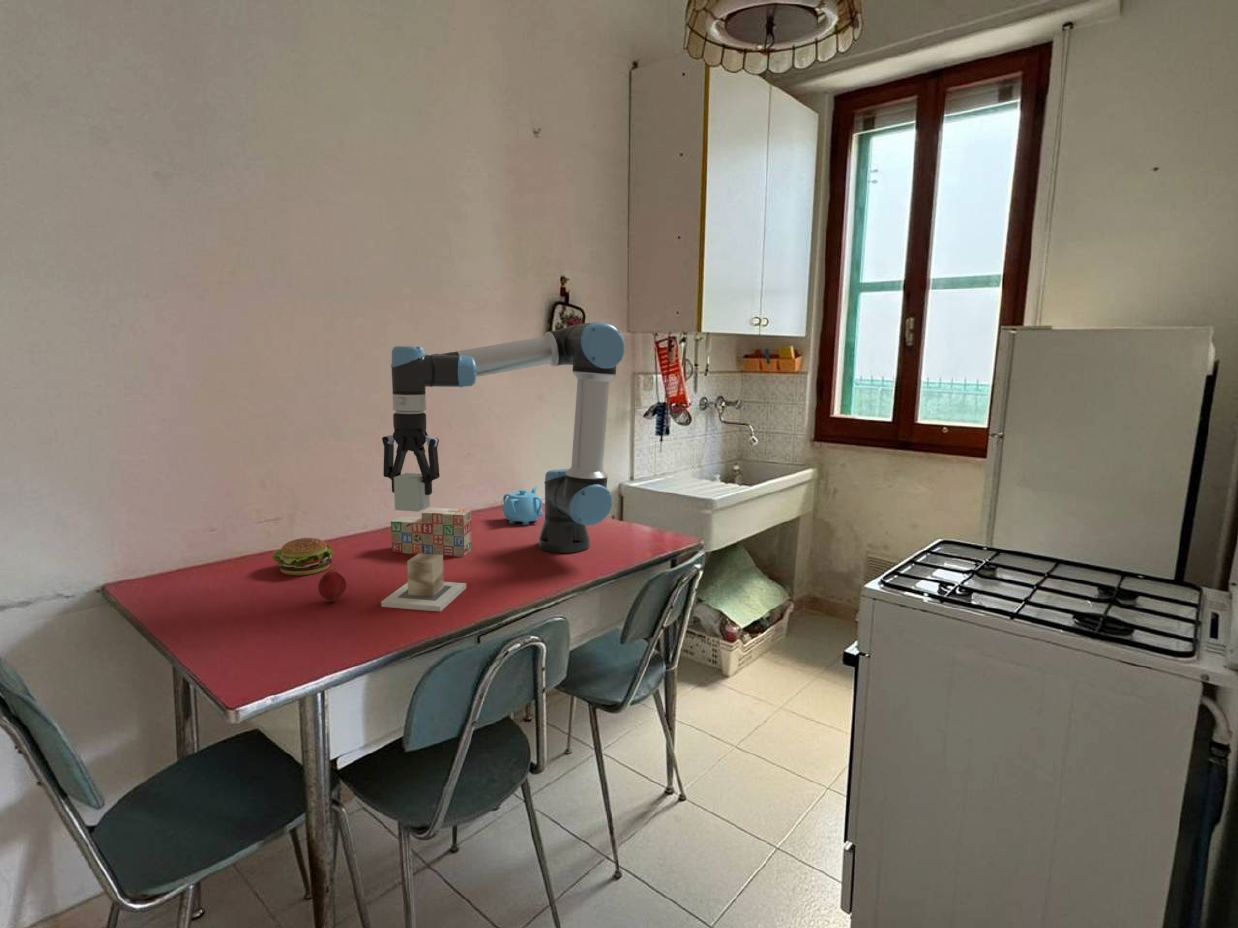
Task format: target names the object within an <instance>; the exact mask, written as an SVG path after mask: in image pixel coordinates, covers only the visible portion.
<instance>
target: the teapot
mask: <svg viewBox="0 0 1238 928" xmlns="http://www.w3.org/2000/svg"><path fill="white" fill-rule="evenodd" d="M537 488H538V486H533V488H532V490H531V492H529V491H528V490H527V489H525V488H524V489H523V488H521V489H519V490H518V491H517V492H516V491H515V492H512V493H506V494H504V495H503V499H502V500H503V504H504V506H503V508H502V511H503V516H504V517H505V519H506V520H509V521H508V524H515V523H516V522H522V526H529V525H530V522H533V523H534V522H537V520H538V519H539V518H540V517H543V515H544V512H543V509H542V508H543V503H544V501H543V499H542V497H540V496H538V495H537V494H536V492H537Z"/></svg>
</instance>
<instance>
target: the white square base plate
mask: <svg viewBox="0 0 1238 928" xmlns="http://www.w3.org/2000/svg"><path fill="white" fill-rule="evenodd" d="M466 589H467V583H466V582H454V581H444V588H443V589H442V590H440V591H439V592H438V593H437V594H436V595H435V596H433V597H430V596H417V595H408V581H407V582H406V583H404V584H403V585H402V586H401V587H399V588H397V590H395V591H394V592H392V593H391V594H389V595H388V596H387V597H385V598H384V599H383V600H381V602H380V605H381V606H380V607H381V608H382V607H383V608H394V609H406V610H415V611H416V610H418V611H426V612H427V611H428V612H429V611H430V612H442V611H443V610H444V609H445V608H447V606H449V604H451V603H452V602H453V601H454V600H455V599H456V598H457V597H458V596H459V595H461V594H462V593H463V592H464V591H465V590H466Z"/></svg>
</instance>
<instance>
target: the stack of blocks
mask: <svg viewBox="0 0 1238 928" xmlns="http://www.w3.org/2000/svg"><path fill="white" fill-rule="evenodd" d="M390 531H391V552H392V553H401V554H402V553H403V554H414V555H417V554H433V555H443V557H444V556H447V557H458V558H459V557H462V558H465V557H466V556H467V555H468V554H469V553H470V552H472V510H471V509H461V508H455V507H453V508H451V507H450V508H449V507H448V508H444V507H443V508H441V507H428V508H426V509H424V510H423V511H422V512H421V517H419V516H405V515H404V516H403V515H401V516H398V517H396V518H395V519H392V520H391V521H390Z"/></svg>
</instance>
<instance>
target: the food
mask: <svg viewBox="0 0 1238 928" xmlns="http://www.w3.org/2000/svg"><path fill="white" fill-rule="evenodd" d="M333 555H334V550H333V549H332V548H331V547H330V546H329V545H328V544H327V543H326V542H325V540H322V539H320V538H317V537H316V538H314V537H301V538H297V539H296V538H295V539H292V540H290V541H288V542H286V543H285V544H283V545H282V547H281V548H280V549H276V550H275V553H274V554H271V559H273V561H275V562H277V564H276V565H277V566H278V567H279V570H280V572H281V573H282V574H285V575H289V576H306V575H314V574H317V573H320V572H324V571H326V570H327V569H329V567H330V566H331V563H332V561H333V559H332V556H333Z"/></svg>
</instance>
